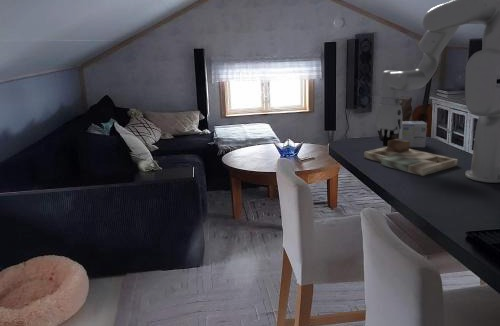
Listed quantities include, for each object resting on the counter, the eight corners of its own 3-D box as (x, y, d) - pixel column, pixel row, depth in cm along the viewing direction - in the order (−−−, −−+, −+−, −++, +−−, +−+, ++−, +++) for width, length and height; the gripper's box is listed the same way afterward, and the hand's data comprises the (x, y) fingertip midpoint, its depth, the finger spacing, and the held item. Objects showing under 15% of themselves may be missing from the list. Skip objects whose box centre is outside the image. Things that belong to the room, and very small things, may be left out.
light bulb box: (421, 144, 198) (423, 120, 196) (425, 147, 192) (427, 123, 189) (397, 144, 200) (398, 120, 197) (400, 147, 193) (402, 123, 190)
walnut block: (408, 150, 177) (409, 141, 176) (399, 153, 174) (400, 143, 173) (396, 148, 182) (397, 138, 181) (387, 150, 179) (387, 140, 178)
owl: (374, 138, 212) (377, 96, 207) (393, 135, 218) (396, 94, 213) (395, 143, 202) (398, 99, 196) (414, 139, 207) (417, 97, 202)
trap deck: (456, 165, 164) (457, 159, 164) (422, 175, 153) (423, 169, 152) (392, 150, 187) (393, 145, 187) (358, 158, 176) (359, 152, 175)
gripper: (411, 102, 173) (408, 147, 178) (381, 98, 185) (378, 141, 190) (399, 104, 169) (396, 150, 174) (369, 100, 181) (366, 143, 186)
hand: (386, 145), depth 182 cm, fingers closed
